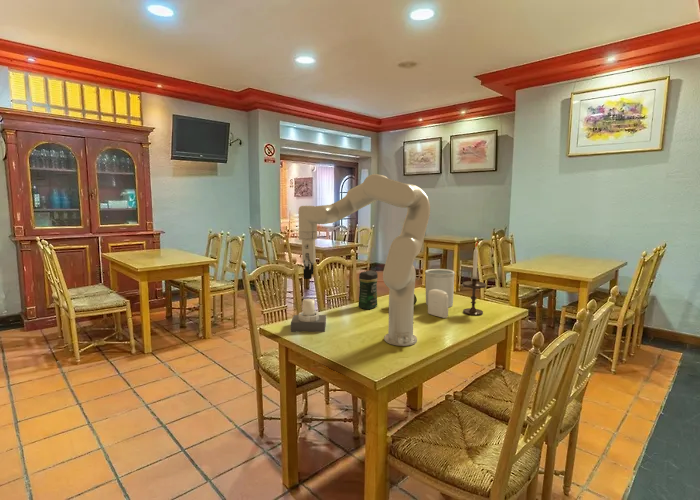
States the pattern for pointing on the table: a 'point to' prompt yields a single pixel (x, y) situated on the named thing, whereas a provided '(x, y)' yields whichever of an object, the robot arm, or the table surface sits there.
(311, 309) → the white cylinder
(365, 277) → the coffee jar
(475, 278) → the candlestick
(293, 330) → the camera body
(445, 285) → the utensil holder
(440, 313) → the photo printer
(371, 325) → the table surface
